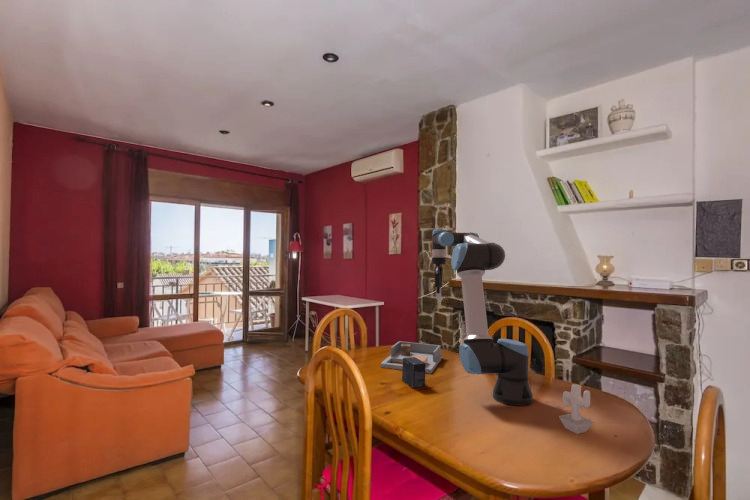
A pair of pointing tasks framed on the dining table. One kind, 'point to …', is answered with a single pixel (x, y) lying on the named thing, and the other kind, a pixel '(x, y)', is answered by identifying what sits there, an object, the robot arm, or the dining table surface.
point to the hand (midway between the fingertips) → (438, 298)
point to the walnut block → (405, 349)
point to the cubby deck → (415, 350)
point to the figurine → (576, 410)
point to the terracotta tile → (422, 358)
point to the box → (413, 372)
